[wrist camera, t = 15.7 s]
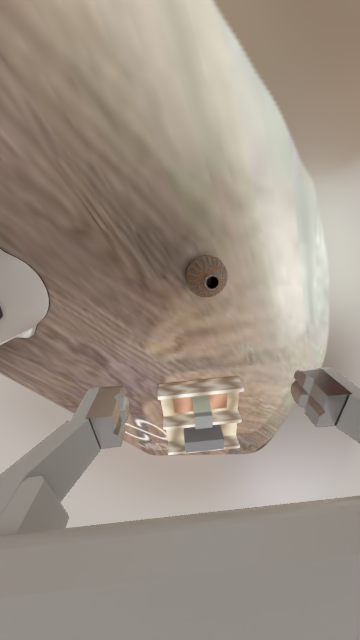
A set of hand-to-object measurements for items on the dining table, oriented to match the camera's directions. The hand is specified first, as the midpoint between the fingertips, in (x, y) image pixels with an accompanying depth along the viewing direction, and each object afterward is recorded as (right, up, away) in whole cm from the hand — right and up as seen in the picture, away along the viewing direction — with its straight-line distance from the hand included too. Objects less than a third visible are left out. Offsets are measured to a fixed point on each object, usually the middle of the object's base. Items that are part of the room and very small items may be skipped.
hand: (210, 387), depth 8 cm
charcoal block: (+5, -27, +41) cm, 50 cm away
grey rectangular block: (+4, -18, +37) cm, 41 cm away
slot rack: (+4, -22, +40) cm, 46 cm away
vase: (+3, +12, +26) cm, 28 cm away
